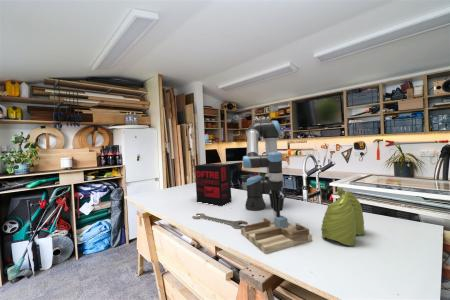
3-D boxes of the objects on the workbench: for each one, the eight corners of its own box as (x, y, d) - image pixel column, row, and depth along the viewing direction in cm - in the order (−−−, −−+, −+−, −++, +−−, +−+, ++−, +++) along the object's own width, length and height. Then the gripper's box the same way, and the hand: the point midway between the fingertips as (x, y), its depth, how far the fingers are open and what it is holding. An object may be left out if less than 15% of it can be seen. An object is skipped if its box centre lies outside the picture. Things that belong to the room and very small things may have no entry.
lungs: (336, 224, 124) (335, 183, 123) (368, 232, 112) (366, 186, 111) (316, 239, 107) (315, 191, 106) (351, 250, 95) (349, 196, 95)
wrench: (189, 218, 148) (189, 216, 148) (199, 214, 156) (199, 211, 156) (241, 231, 123) (241, 227, 123) (250, 224, 131) (250, 221, 131)
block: (274, 226, 119) (274, 217, 119) (282, 224, 121) (281, 215, 120) (280, 229, 114) (279, 220, 114) (287, 227, 116) (287, 218, 116)
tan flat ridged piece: (241, 233, 118) (240, 222, 118) (281, 224, 128) (281, 214, 128) (265, 253, 96) (264, 240, 96) (312, 240, 106) (311, 228, 106)
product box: (197, 202, 186) (194, 165, 185) (207, 198, 198) (205, 163, 197) (221, 206, 171) (219, 166, 170) (231, 201, 182) (229, 164, 181)
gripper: (263, 179, 124) (265, 219, 125) (276, 182, 112) (278, 227, 113) (274, 177, 127) (276, 217, 128) (288, 181, 115) (290, 224, 116)
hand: (277, 222), depth 120 cm, fingers closed
